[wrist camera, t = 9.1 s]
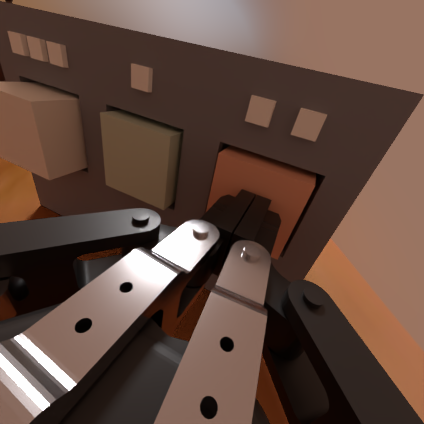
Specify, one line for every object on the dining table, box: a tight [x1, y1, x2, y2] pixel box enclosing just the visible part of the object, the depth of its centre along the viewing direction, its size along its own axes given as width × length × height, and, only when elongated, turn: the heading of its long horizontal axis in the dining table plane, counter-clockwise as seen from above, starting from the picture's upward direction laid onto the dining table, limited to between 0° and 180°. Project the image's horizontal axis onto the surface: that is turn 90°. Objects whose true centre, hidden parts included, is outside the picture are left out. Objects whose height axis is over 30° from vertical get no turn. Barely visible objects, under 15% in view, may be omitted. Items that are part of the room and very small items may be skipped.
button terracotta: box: [206, 145, 316, 260], centre depth 13 cm, size 4×4×4 cm
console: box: [0, 1, 423, 291], centre depth 17 cm, size 22×8×14 cm, turn 67°
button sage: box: [100, 110, 184, 210], centre depth 14 cm, size 4×4×4 cm
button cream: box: [0, 81, 88, 180], centre depth 15 cm, size 4×4×4 cm
